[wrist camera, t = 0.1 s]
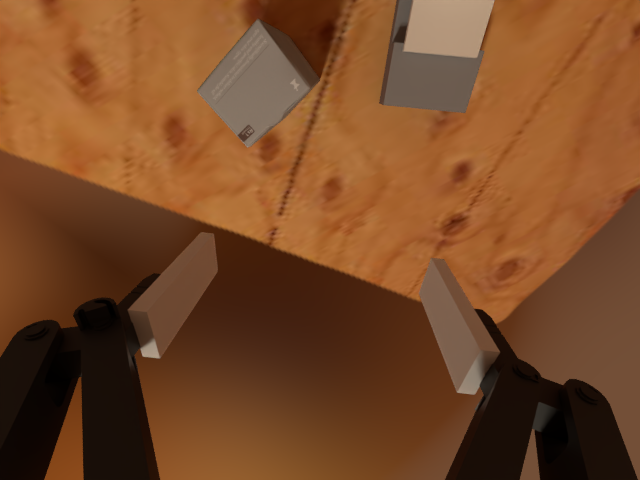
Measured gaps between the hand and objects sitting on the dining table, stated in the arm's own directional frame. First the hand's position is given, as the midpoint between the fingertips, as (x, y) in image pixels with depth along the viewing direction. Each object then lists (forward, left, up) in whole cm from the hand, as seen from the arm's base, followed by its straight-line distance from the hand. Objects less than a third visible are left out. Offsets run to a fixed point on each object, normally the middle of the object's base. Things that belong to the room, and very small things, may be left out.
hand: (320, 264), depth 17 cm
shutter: (-17, +11, -24) cm, 31 cm away
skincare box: (-9, -7, -28) cm, 31 cm away
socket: (-15, +11, -28) cm, 33 cm away
